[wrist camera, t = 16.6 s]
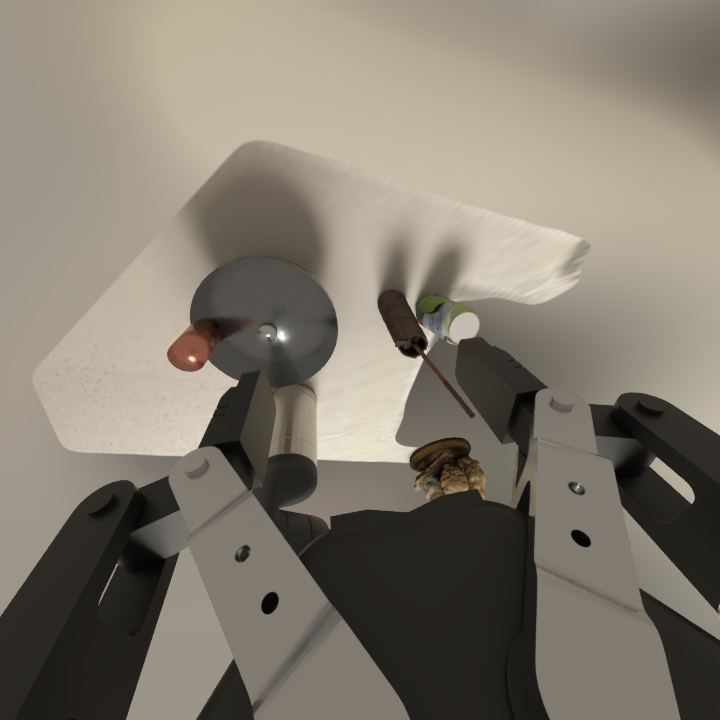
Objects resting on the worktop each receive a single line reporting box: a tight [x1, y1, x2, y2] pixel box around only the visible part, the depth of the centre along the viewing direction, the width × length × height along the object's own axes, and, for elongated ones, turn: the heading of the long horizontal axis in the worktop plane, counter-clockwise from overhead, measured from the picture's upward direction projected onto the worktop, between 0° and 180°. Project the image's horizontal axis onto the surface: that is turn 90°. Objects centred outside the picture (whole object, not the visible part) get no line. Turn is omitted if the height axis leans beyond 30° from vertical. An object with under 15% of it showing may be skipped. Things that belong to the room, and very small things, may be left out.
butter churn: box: [377, 290, 475, 418], centre depth 37 cm, size 9×10×28 cm
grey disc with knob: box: [167, 256, 338, 387], centre depth 33 cm, size 18×18×8 cm
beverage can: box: [416, 295, 479, 344], centre depth 45 cm, size 6×7×12 cm
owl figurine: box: [410, 437, 486, 502], centre depth 66 cm, size 18×12×17 cm, turn 107°
